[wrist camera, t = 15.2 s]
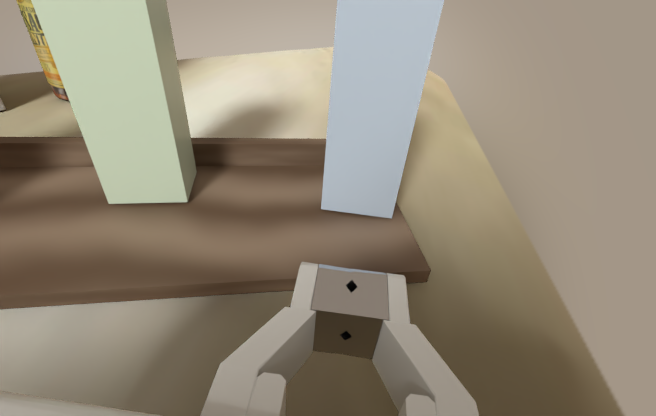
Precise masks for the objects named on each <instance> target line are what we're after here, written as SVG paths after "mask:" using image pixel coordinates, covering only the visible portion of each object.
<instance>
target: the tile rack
mask: <svg viewBox="0 0 656 416" xmlns="http://www.w3.org/2000/svg"><path fill="white" fill-rule="evenodd" d="M191 142H192V148H193V154H194V159H195V165H196V171H197V173H196V176H195V179H194V183H193V186H192V189H191V193H190V196H189V199H188V202H173V203H128V204H109V203H108V201H107V198H106V196H105V193H104V190H103V188H102V185H101V182H100V180H99V177H98V175H97V172H96V169H95V167H94V164H93V161H92V159H91V156H90V154H89V151H88V148H87V146H86V143H85V140H84V138H83V137H0V309H9V308H24V307H40V306H55V305H71V304H87V303H102V302H118V301H133V300H149V299H164V298H180V297H195V296H211V295H227V294H242V293H258V292H273V291H289V290H294V288H295V284H296V280H297V276H298V272H299V267H300V265H301V263H302V262H308V263H314V264H323V265H329V266H335V267H342V268H348V269H358V270H366V271H375V272H383V273H390V274H398V275H404V276H405V278H406V283H413V282H427V279H428V277H429V274H430V271H431V270H430V268H429V266H428V264H427V262H426V260H425V258H424V256H423V254H422V252H421V250H420V248H419V246H418V244H417V242H416V240H415V238H414V236H413V234H412V232H411V230H410V228H409V226H408V224H407V223H406V221H405V219H404V217H403V215H402V213H401V211H400V209H399V207H398V205H397V203H395V207H394V211H393V216H392V219H391V218H384V217H376V216H369V215H361V214H354V213H346V212H338V211H331V210H323V209H321V201H322V189H323V176H324V164H325V151H326V139H268V138H191Z"/></svg>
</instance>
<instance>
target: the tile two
mask: <svg viewBox="0 0 656 416" xmlns="http://www.w3.org/2000/svg"><path fill="white" fill-rule="evenodd" d="M443 3H444V0H337V12H336V25H335V38H334V50H333V63H332V75H331V88H330V101H329V113H328V126H327V138H326V151H325V164H324V176H323V189H322V201H321V209H323V210H331V211H338V212H346V213H354V214H361V215H369V216H376V217H384V218H391V219H392V216H393V211H394V207H395V203H396V199H397V195H398V190H399V186H400V182H401V178H402V174H403V170H404V165H405V161H406V157H407V153H408V149H409V145H410V140H411V136H412V132H413V128H414V124H415V120H416V115H417V111H418V107H419V103H420V99H421V95H422V90H423V86H424V82H425V78H426V74H427V69H428V65H429V61H430V57H431V53H432V48H433V44H434V40H435V36H436V32H437V28H438V23H439V19H440V15H441V11H442V7H443Z"/></svg>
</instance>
